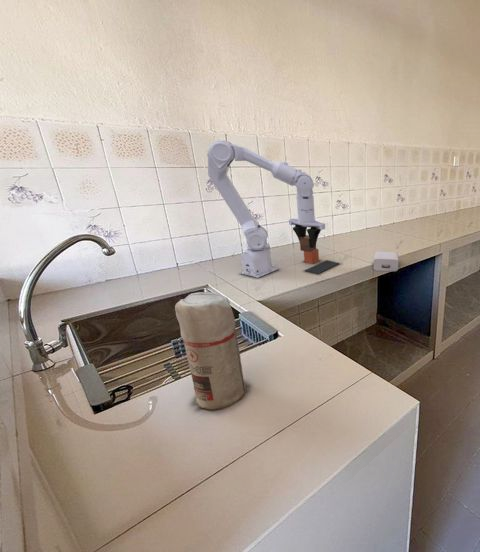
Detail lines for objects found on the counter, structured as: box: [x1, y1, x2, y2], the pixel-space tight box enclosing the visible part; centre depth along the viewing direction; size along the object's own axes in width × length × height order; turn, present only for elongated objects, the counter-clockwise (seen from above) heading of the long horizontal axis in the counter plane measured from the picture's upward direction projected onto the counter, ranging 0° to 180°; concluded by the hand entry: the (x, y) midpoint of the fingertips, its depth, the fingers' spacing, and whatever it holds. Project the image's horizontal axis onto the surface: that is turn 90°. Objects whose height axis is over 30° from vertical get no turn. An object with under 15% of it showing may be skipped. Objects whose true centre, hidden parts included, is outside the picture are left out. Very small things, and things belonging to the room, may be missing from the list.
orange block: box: [303, 248, 320, 265], centre depth 131 cm, size 5×4×5 cm
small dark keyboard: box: [304, 260, 340, 275], centre depth 126 cm, size 13×6×1 cm, turn 155°
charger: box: [373, 251, 399, 272], centre depth 131 cm, size 5×9×15 cm
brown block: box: [299, 234, 317, 252], centre depth 122 cm, size 4×4×5 cm
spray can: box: [174, 291, 247, 410], centre depth 58 cm, size 8×8×20 cm
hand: (308, 246), depth 122 cm, fingers closed on brown block, 4 cm apart
